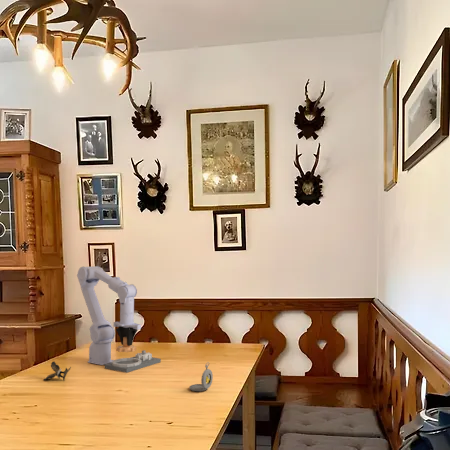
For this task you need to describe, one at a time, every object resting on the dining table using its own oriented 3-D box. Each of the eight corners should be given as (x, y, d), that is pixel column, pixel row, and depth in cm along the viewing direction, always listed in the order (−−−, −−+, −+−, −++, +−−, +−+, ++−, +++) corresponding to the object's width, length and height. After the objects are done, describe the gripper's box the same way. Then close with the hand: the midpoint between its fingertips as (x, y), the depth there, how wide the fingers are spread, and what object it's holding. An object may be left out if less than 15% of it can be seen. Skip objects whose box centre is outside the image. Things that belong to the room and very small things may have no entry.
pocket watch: (189, 387, 168) (189, 359, 169) (212, 386, 169) (212, 358, 169) (189, 393, 160) (189, 364, 161) (213, 393, 161) (213, 364, 161)
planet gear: (111, 350, 196) (112, 337, 196) (126, 348, 203) (126, 335, 203) (126, 352, 191) (126, 339, 192) (140, 350, 198) (140, 337, 199)
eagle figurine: (72, 373, 182) (52, 368, 184) (70, 361, 179) (49, 356, 180) (62, 389, 176) (41, 383, 178) (59, 376, 172) (38, 370, 174)
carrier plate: (104, 368, 195) (104, 356, 195) (139, 358, 213) (139, 347, 213) (126, 372, 188) (126, 360, 188) (160, 362, 206) (160, 350, 206)
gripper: (108, 312, 199) (107, 344, 198) (132, 315, 191) (132, 348, 190) (120, 311, 205) (120, 341, 204) (144, 313, 197) (144, 345, 196)
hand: (126, 344), depth 197 cm, fingers closed on planet gear, 3 cm apart
